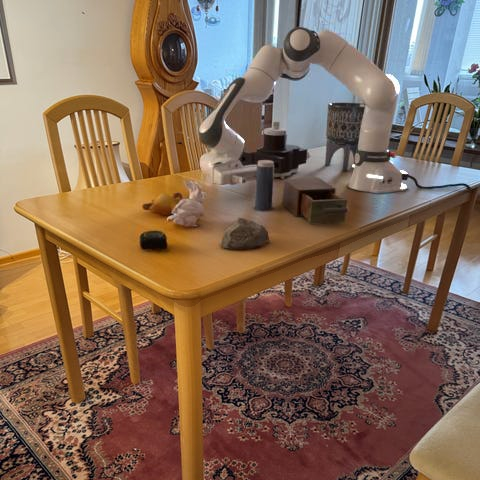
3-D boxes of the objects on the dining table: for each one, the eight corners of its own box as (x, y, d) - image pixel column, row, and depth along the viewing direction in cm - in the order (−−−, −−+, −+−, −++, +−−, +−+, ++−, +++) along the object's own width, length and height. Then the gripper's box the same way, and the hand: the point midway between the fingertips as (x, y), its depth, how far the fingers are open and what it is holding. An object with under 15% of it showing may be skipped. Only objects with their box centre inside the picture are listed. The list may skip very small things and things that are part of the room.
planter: (314, 167, 208) (320, 104, 195) (332, 161, 222) (339, 101, 209) (354, 174, 199) (364, 107, 185) (370, 166, 213) (380, 104, 199)
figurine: (213, 220, 138) (213, 178, 132) (181, 233, 128) (179, 188, 121) (193, 215, 142) (192, 174, 136) (160, 228, 132) (157, 183, 125)
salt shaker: (269, 205, 154) (271, 159, 146) (274, 210, 149) (276, 163, 142) (253, 206, 153) (254, 160, 145) (257, 211, 148) (259, 163, 140)
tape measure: (140, 253, 115) (139, 239, 113) (141, 243, 121) (140, 230, 119) (167, 252, 116) (166, 238, 114) (167, 242, 122) (166, 229, 120)
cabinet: (332, 214, 146) (336, 188, 142) (296, 216, 144) (298, 190, 139) (315, 202, 158) (318, 177, 154) (282, 204, 156) (283, 179, 151)
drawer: (351, 227, 133) (355, 204, 130) (316, 229, 131) (318, 206, 127) (326, 209, 149) (329, 188, 145) (294, 210, 146) (296, 189, 143)
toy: (137, 206, 138) (152, 192, 151) (146, 225, 141) (160, 210, 154) (170, 195, 135) (182, 182, 148) (178, 215, 138) (190, 200, 150)
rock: (254, 234, 128) (255, 211, 124) (276, 243, 122) (277, 220, 119) (217, 245, 120) (217, 221, 117) (238, 255, 115) (239, 231, 111)
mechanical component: (240, 121, 182) (283, 115, 202) (239, 174, 193) (280, 164, 212) (283, 126, 170) (325, 120, 190) (280, 183, 181) (320, 172, 200)
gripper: (253, 176, 166) (278, 184, 157) (207, 184, 156) (230, 192, 146) (254, 158, 163) (279, 165, 154) (206, 165, 153) (230, 172, 143)
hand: (255, 178), depth 150 cm, fingers open, 8 cm apart
